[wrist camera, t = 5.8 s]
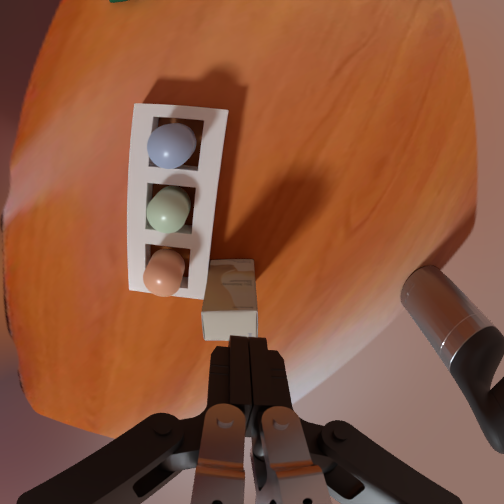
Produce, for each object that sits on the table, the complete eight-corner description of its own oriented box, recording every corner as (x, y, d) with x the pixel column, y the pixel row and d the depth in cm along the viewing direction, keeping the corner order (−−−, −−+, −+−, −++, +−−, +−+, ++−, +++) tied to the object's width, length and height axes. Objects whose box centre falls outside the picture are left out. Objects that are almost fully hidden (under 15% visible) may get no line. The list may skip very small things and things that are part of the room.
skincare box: (253, 257, 43) (261, 310, 32) (253, 284, 45) (260, 340, 34) (207, 259, 42) (199, 311, 31) (210, 285, 44) (203, 342, 33)
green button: (192, 187, 37) (188, 196, 33) (189, 223, 39) (184, 235, 35) (155, 184, 36) (147, 192, 33) (153, 219, 38) (146, 230, 35)
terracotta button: (186, 250, 39) (181, 265, 35) (184, 282, 41) (180, 299, 37) (150, 246, 38) (142, 260, 35) (150, 278, 40) (143, 294, 37)
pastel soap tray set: (228, 110, 34) (228, 110, 31) (206, 288, 44) (205, 299, 42) (141, 104, 33) (134, 103, 30) (134, 279, 43) (129, 289, 40)
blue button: (198, 124, 32) (194, 125, 29) (193, 164, 34) (189, 171, 31) (158, 121, 32) (149, 122, 28) (154, 161, 34) (145, 167, 30)
